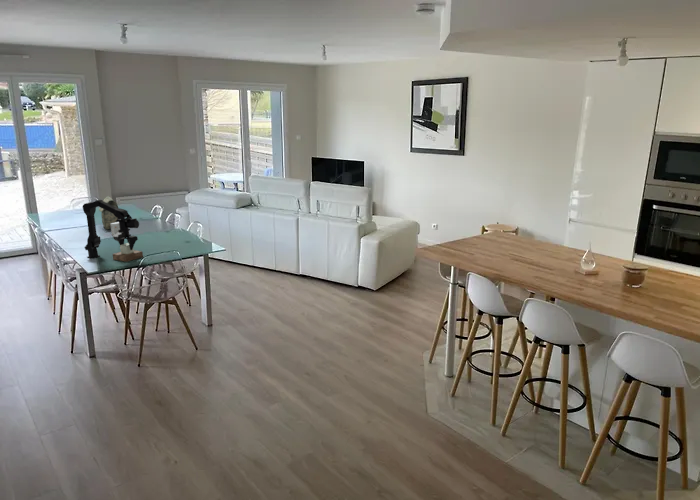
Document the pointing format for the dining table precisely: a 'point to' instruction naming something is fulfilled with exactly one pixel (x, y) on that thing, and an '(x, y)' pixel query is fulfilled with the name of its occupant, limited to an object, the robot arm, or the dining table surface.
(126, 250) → the sage cube
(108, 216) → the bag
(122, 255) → the walnut block
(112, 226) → the small box
